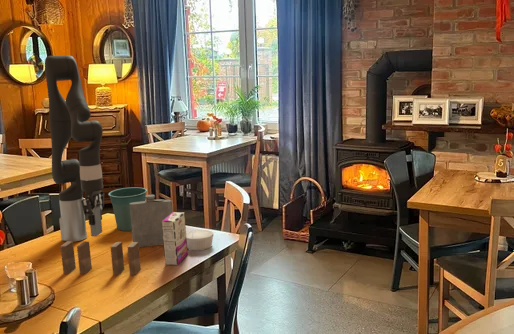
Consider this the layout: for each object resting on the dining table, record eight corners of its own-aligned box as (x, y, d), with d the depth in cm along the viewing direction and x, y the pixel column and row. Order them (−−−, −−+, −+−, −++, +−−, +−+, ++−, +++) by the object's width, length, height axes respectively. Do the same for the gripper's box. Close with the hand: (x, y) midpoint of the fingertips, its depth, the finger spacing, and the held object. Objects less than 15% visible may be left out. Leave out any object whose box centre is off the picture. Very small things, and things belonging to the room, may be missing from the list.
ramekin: (179, 246, 203) (178, 233, 202) (204, 240, 210) (203, 227, 209) (194, 254, 194) (193, 240, 193) (219, 247, 201) (218, 234, 200)
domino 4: (113, 274, 177) (110, 246, 176) (118, 269, 182) (116, 241, 180) (118, 274, 177) (116, 246, 175) (124, 269, 182) (121, 241, 180)
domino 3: (91, 236, 188) (88, 209, 186) (97, 231, 193) (94, 205, 191) (96, 236, 188) (93, 209, 186) (102, 231, 193) (99, 205, 191)
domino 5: (130, 275, 177) (127, 246, 175) (135, 269, 181) (132, 241, 180) (135, 275, 176) (133, 247, 174) (140, 269, 181) (138, 242, 179)
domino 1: (63, 273, 180) (60, 246, 178) (70, 268, 185) (67, 241, 183) (68, 273, 180) (65, 246, 178) (75, 268, 185) (72, 241, 183)
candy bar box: (175, 254, 195) (172, 211, 192) (188, 254, 194) (185, 212, 191) (164, 265, 184) (160, 220, 181) (177, 265, 183) (174, 221, 180)
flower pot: (135, 234, 220) (132, 197, 217) (103, 231, 226) (100, 195, 223) (157, 223, 235) (154, 188, 232) (127, 220, 241) (124, 186, 238)
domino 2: (79, 274, 179) (76, 246, 177) (86, 268, 184) (83, 241, 182) (85, 274, 179) (82, 246, 177) (91, 268, 184) (89, 241, 182)
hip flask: (133, 248, 203) (128, 198, 199) (133, 244, 207) (129, 195, 203) (174, 244, 206) (170, 195, 202) (174, 241, 210) (170, 192, 206)
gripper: (90, 172, 194) (94, 216, 197) (71, 181, 180) (76, 228, 183) (109, 172, 192) (113, 216, 196) (92, 181, 179) (97, 229, 182)
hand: (95, 222), depth 190 cm, fingers closed on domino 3, 5 cm apart
